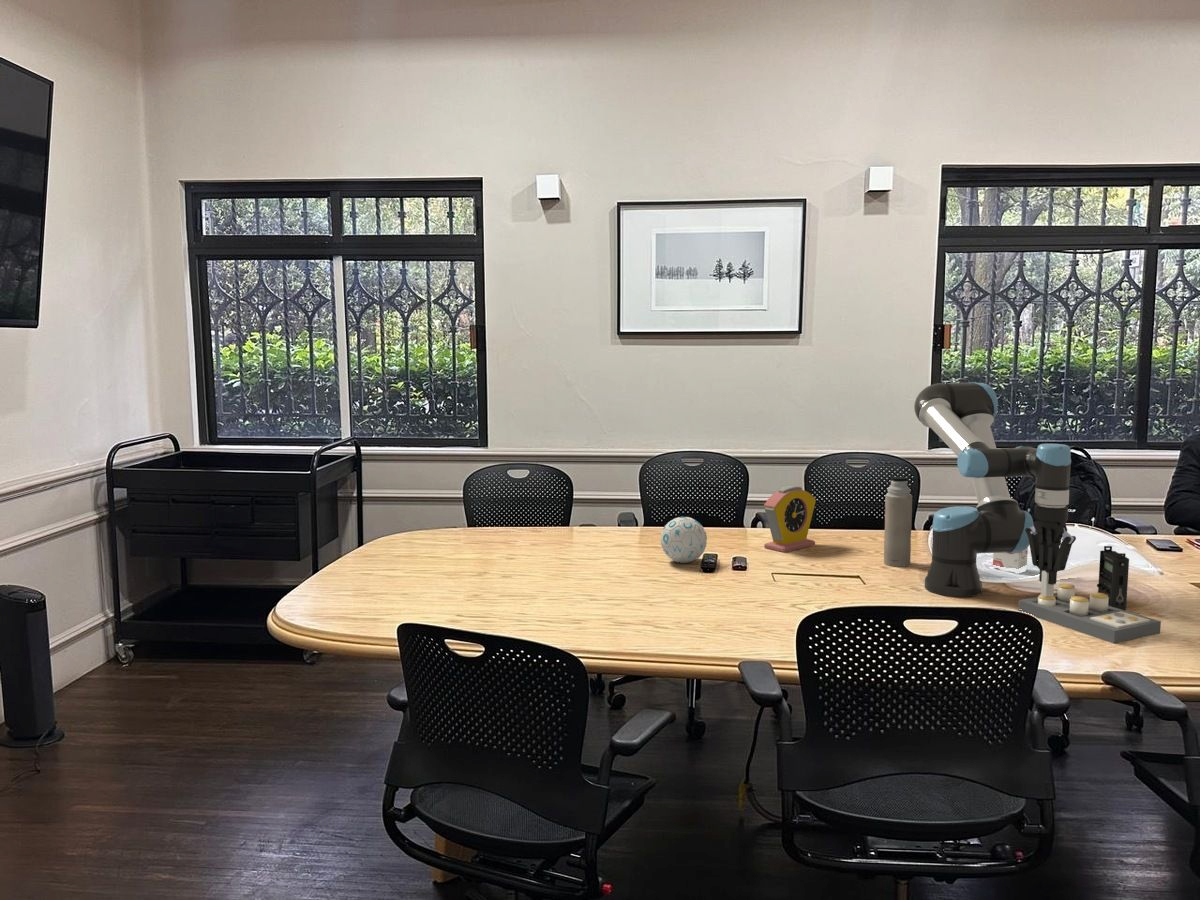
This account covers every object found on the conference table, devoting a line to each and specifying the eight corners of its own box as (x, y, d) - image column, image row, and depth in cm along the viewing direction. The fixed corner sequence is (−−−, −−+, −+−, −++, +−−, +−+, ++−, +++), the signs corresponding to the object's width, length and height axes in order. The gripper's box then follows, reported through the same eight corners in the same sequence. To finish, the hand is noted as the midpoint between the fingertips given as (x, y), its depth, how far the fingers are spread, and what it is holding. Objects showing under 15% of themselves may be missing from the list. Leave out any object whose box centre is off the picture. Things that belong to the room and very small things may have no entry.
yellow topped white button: (1085, 609, 206) (1086, 593, 205) (1096, 607, 207) (1097, 591, 207) (1100, 614, 202) (1101, 597, 202) (1111, 612, 204) (1112, 595, 203)
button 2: (1053, 599, 214) (1054, 584, 214) (1064, 597, 216) (1065, 582, 215) (1067, 604, 210) (1068, 588, 210) (1078, 602, 212) (1079, 586, 211)
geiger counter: (1091, 598, 223) (1094, 544, 221) (1110, 599, 222) (1113, 545, 220) (1108, 610, 213) (1111, 554, 211) (1127, 611, 212) (1131, 554, 210)
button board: (1018, 611, 213) (1019, 597, 213) (1062, 603, 219) (1062, 589, 219) (1113, 643, 189) (1114, 627, 189) (1160, 633, 195) (1161, 618, 195)
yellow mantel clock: (778, 554, 277) (779, 491, 274) (758, 549, 284) (758, 488, 282) (820, 544, 290) (821, 484, 287) (799, 539, 297) (800, 481, 295)
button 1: (1033, 610, 212) (1034, 595, 211) (1044, 608, 213) (1045, 593, 213) (1047, 615, 208) (1048, 599, 208) (1058, 613, 210) (1059, 597, 209)
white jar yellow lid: (1065, 613, 203) (1066, 597, 203) (1076, 611, 205) (1077, 595, 204) (1080, 618, 200) (1081, 601, 199) (1091, 615, 201) (1092, 599, 201)
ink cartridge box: (991, 568, 255) (993, 522, 253) (1001, 566, 257) (1002, 520, 256) (1018, 574, 247) (1020, 526, 246) (1027, 572, 250) (1029, 524, 248)
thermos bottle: (879, 563, 262) (881, 477, 259) (890, 559, 268) (892, 474, 265) (903, 568, 257) (905, 480, 253) (914, 563, 262) (917, 477, 259)
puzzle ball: (661, 556, 277) (661, 512, 276) (706, 556, 276) (706, 512, 274) (660, 567, 262) (660, 521, 261) (707, 568, 261) (707, 522, 259)
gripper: (1018, 502, 212) (1014, 590, 215) (1064, 510, 200) (1059, 604, 203) (1039, 499, 215) (1035, 587, 218) (1085, 508, 203) (1080, 600, 206)
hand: (1047, 595), depth 210 cm, fingers closed
